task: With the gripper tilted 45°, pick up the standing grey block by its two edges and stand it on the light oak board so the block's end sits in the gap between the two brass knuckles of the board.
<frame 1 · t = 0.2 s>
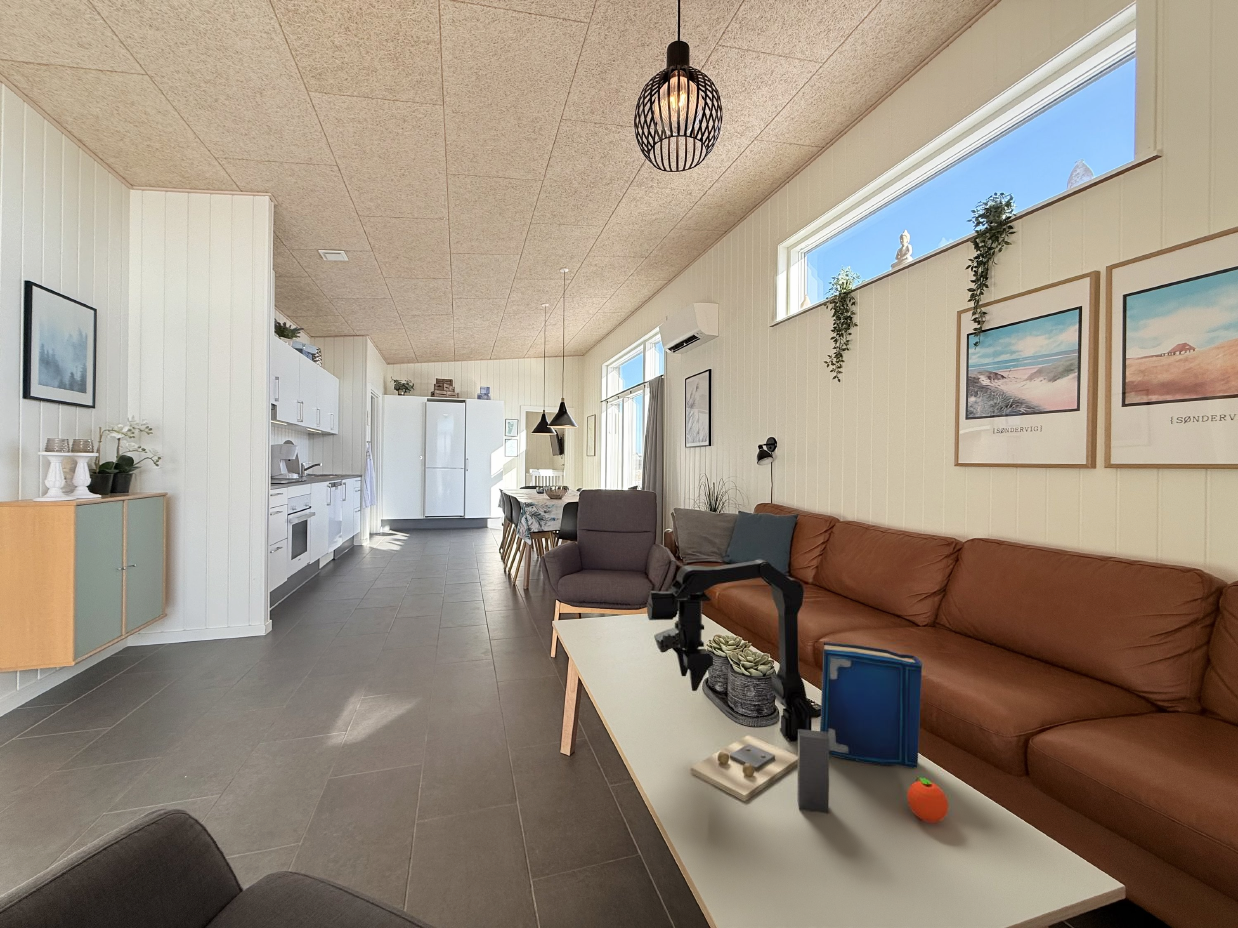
hand: (688, 683, 136), 15 cm above the table, tool pointing down, fingers open, 9 cm apart
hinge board: (746, 767, 125), on the table
grey block: (812, 806, 111), on the table
clementine: (925, 818, 108), on the table
book: (869, 758, 130), on the table
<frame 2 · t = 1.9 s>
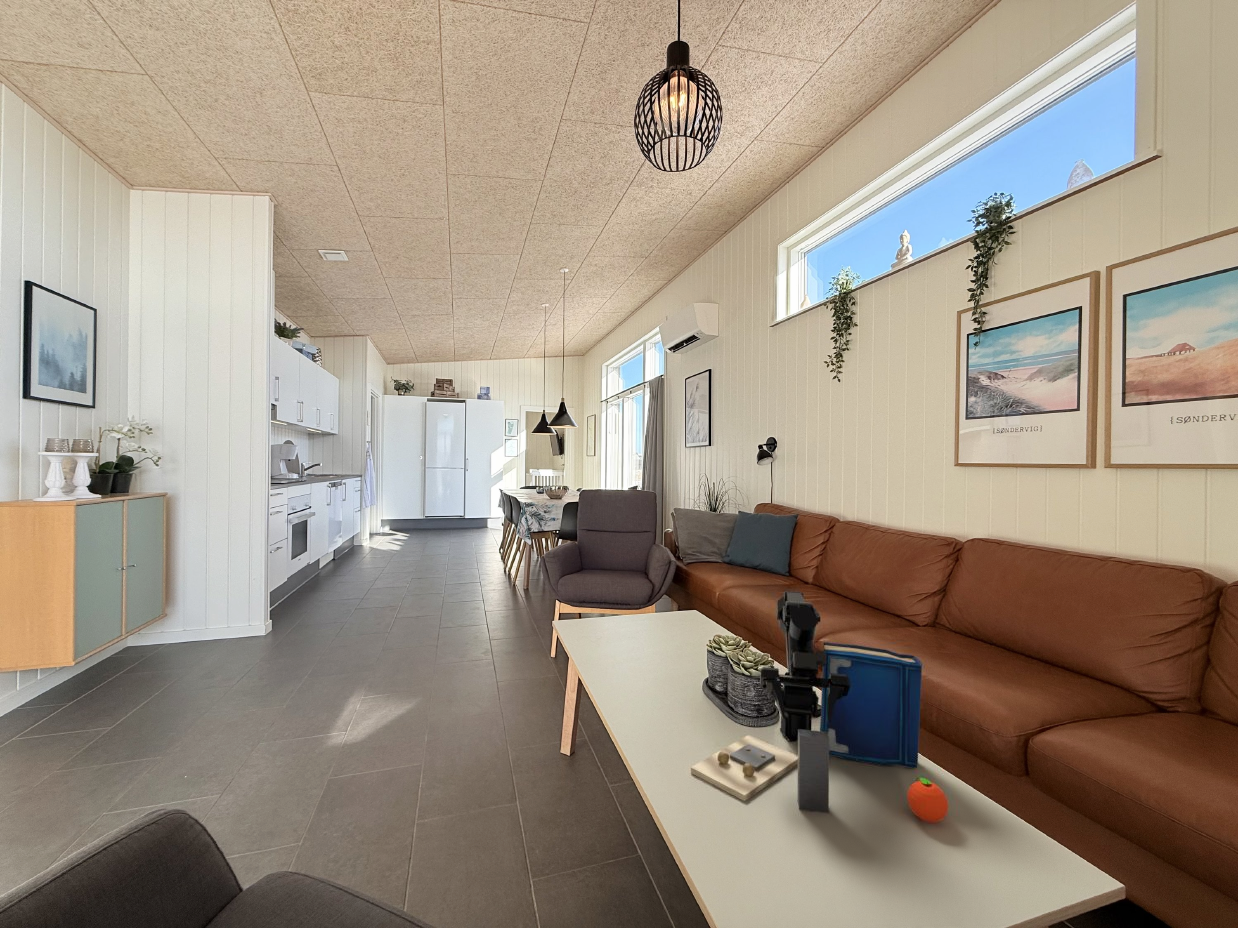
hand: (806, 720, 119), 13 cm above the table, tool tilted 45°, fingers open, 9 cm apart
nothing on the table moved.
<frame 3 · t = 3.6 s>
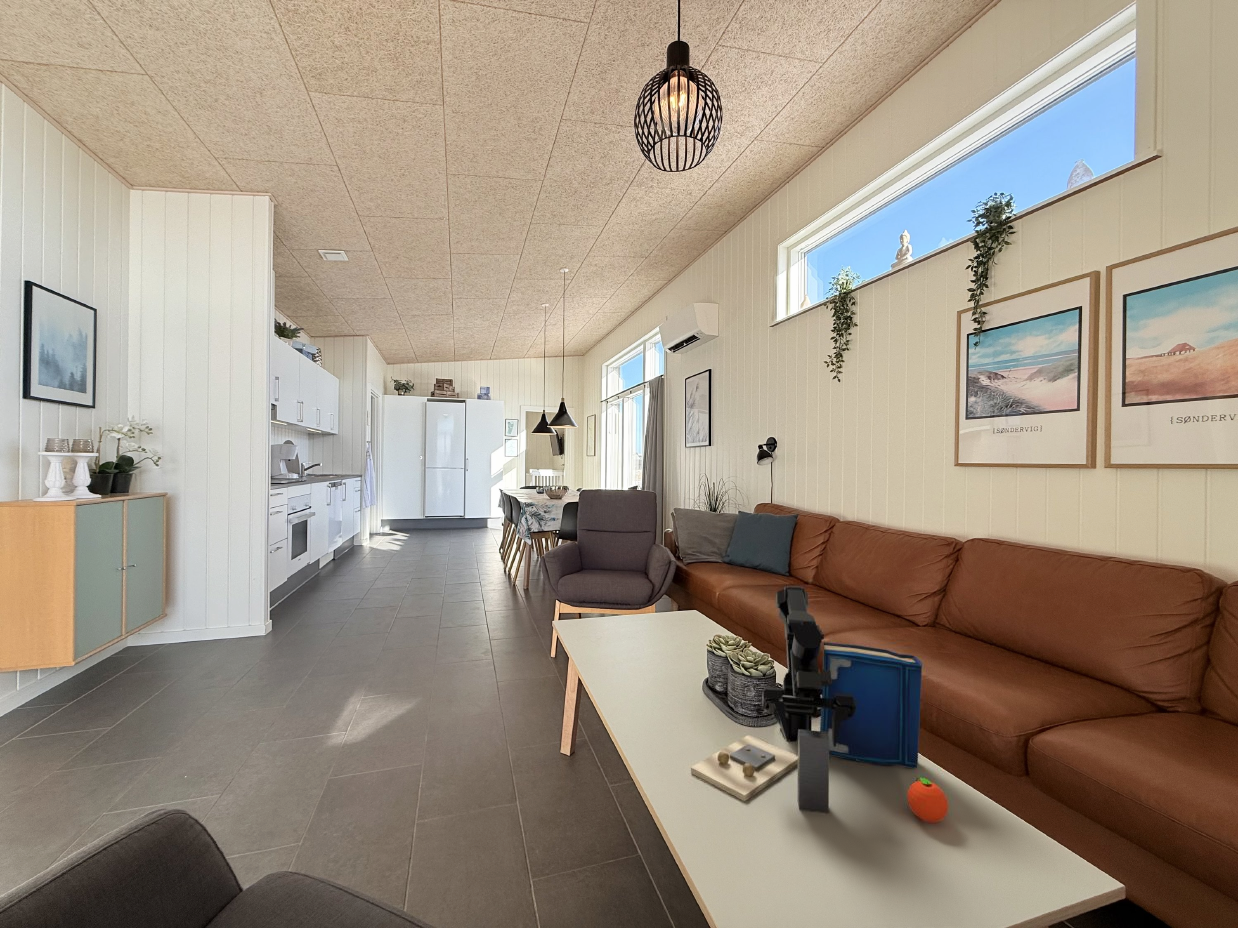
hand: (811, 743, 114), 11 cm above the table, tool tilted 45°, fingers open, 9 cm apart
nothing on the table moved.
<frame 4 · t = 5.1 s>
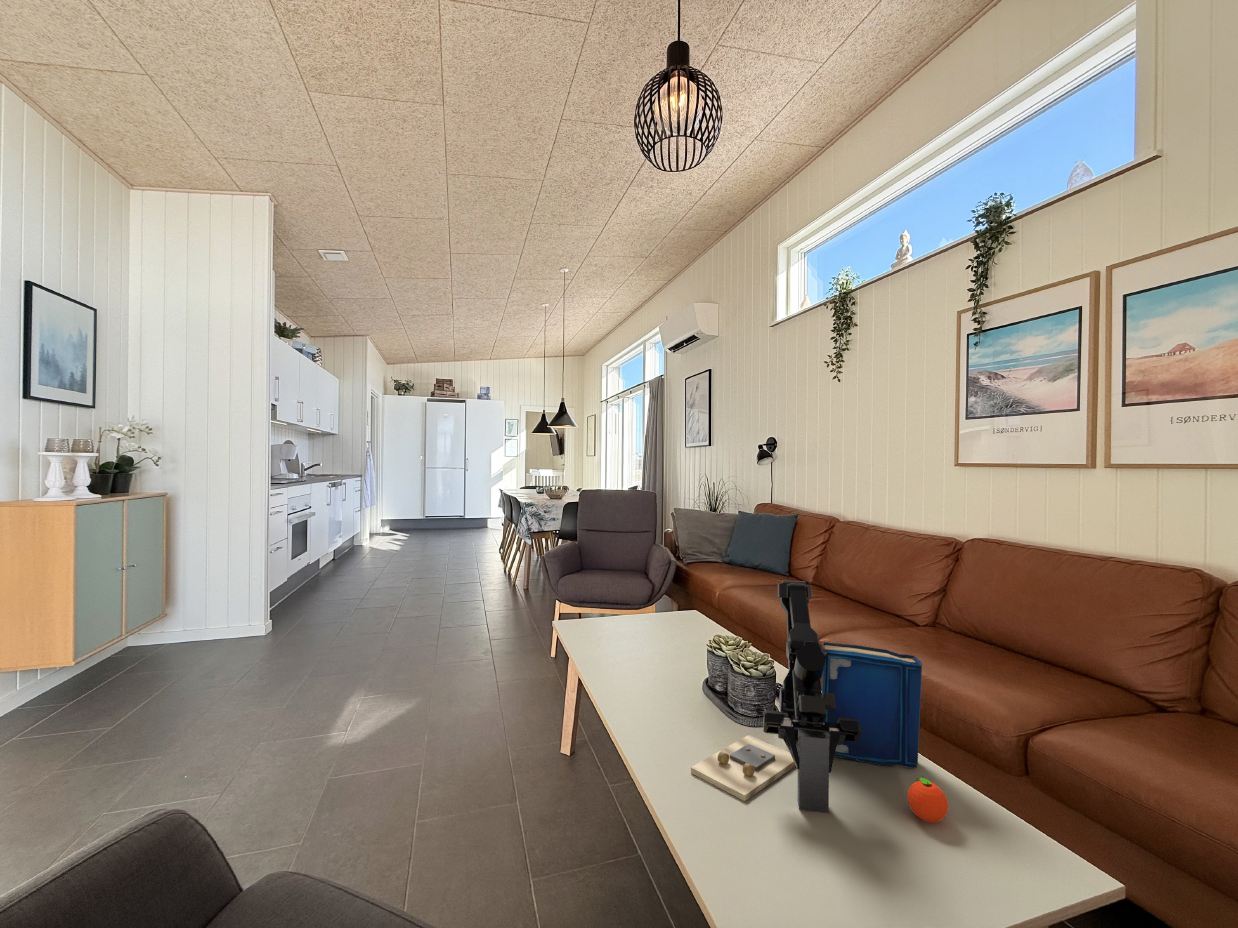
hand: (814, 770, 109), 8 cm above the table, tool tilted 45°, fingers closed on grey block, 5 cm apart
grey block: (812, 806, 111), on the table, touching gripper
everything else where it was.
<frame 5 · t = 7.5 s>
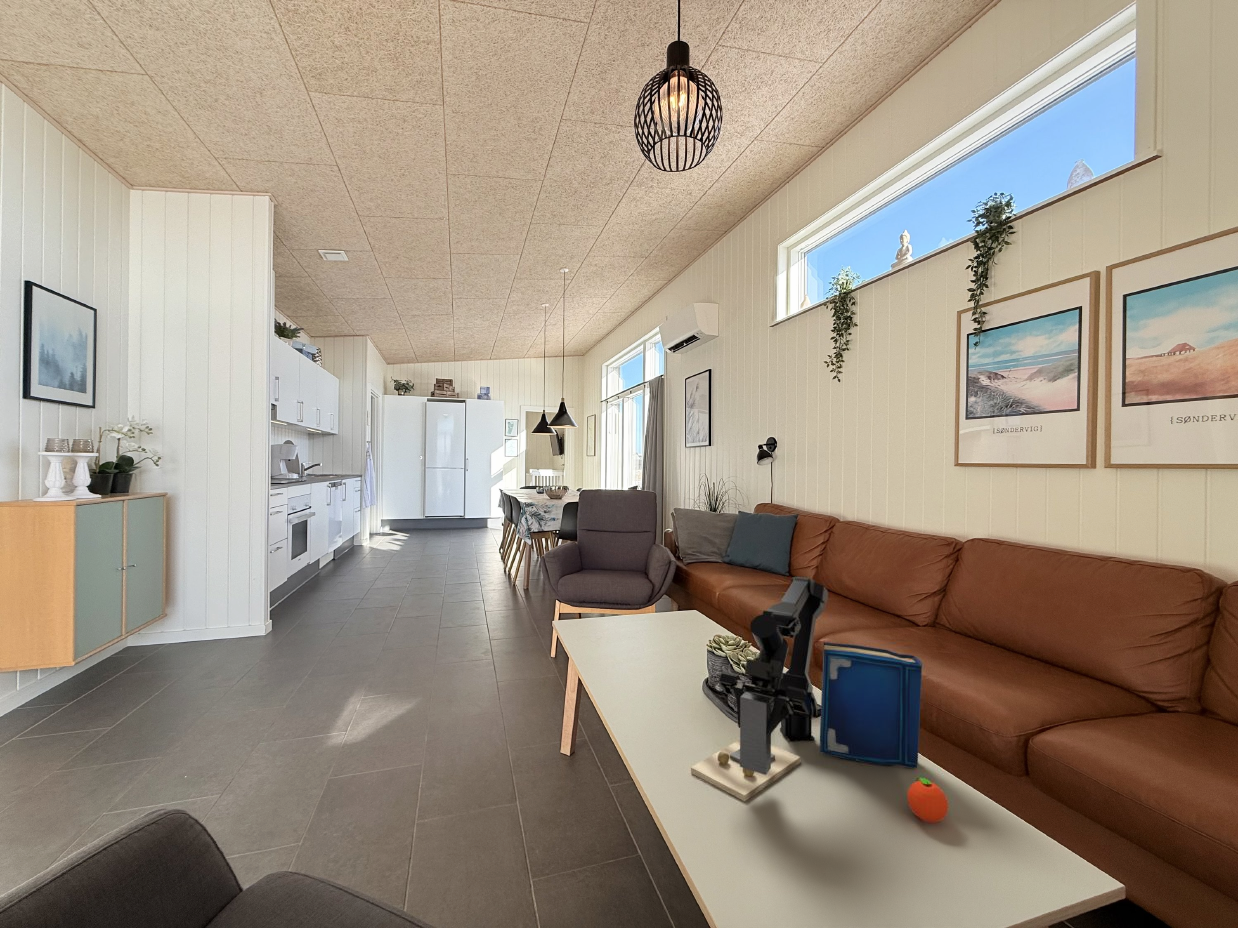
hand: (753, 731, 114), 13 cm above the table, tool tilted 45°, fingers closed on grey block, 5 cm apart
grey block: (755, 767, 115), point 5 cm above the table, touching gripper
everything else where it was.
when the fingers open (10 cm above the table, at t = 9.6 s): grey block drops 1 cm, resting on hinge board.
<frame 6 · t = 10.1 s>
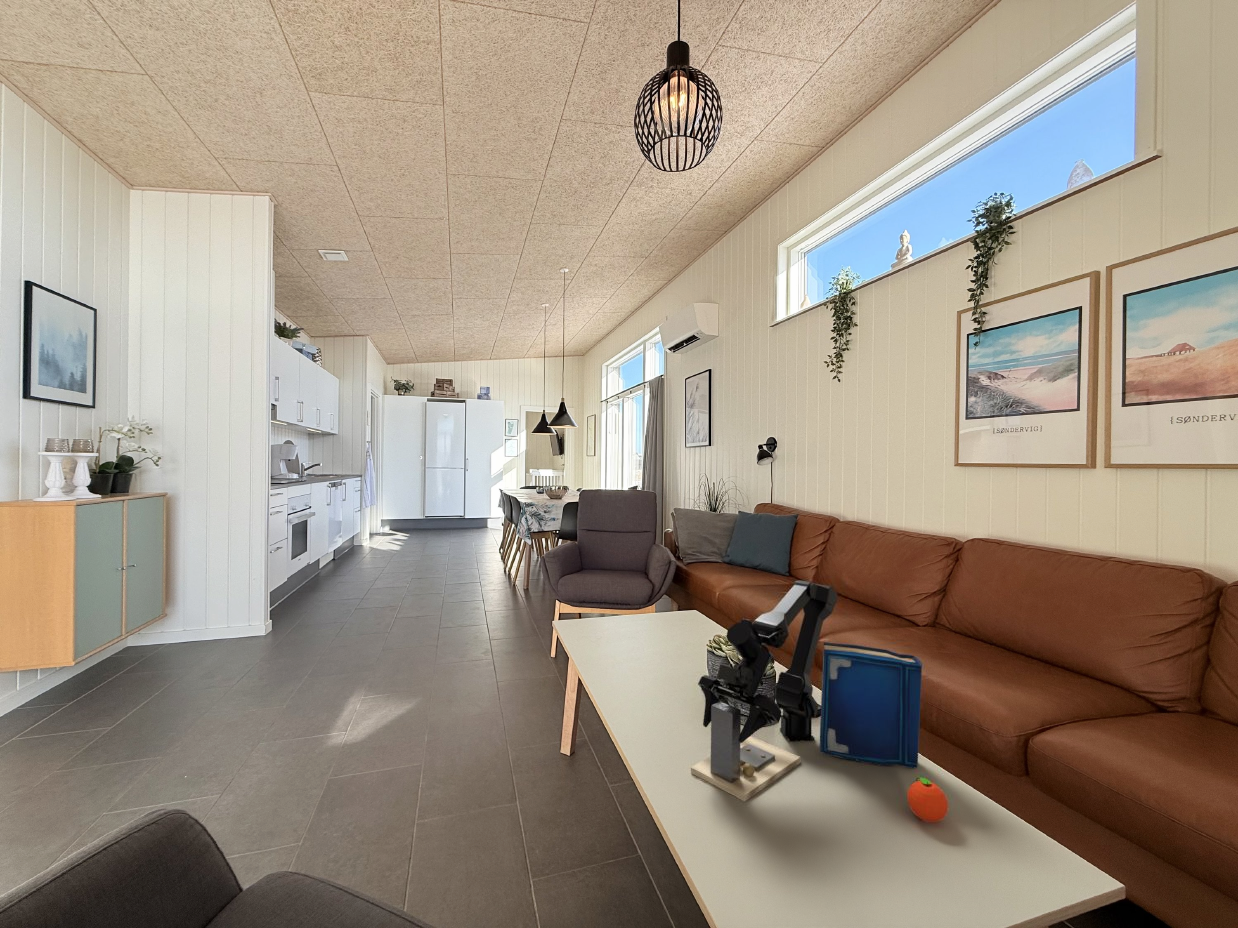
hand: (721, 733, 119), 11 cm above the table, tool tilted 45°, fingers open, 9 cm apart
grey block: (725, 775, 120), point 1 cm above the table, touching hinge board
everything else where it was.
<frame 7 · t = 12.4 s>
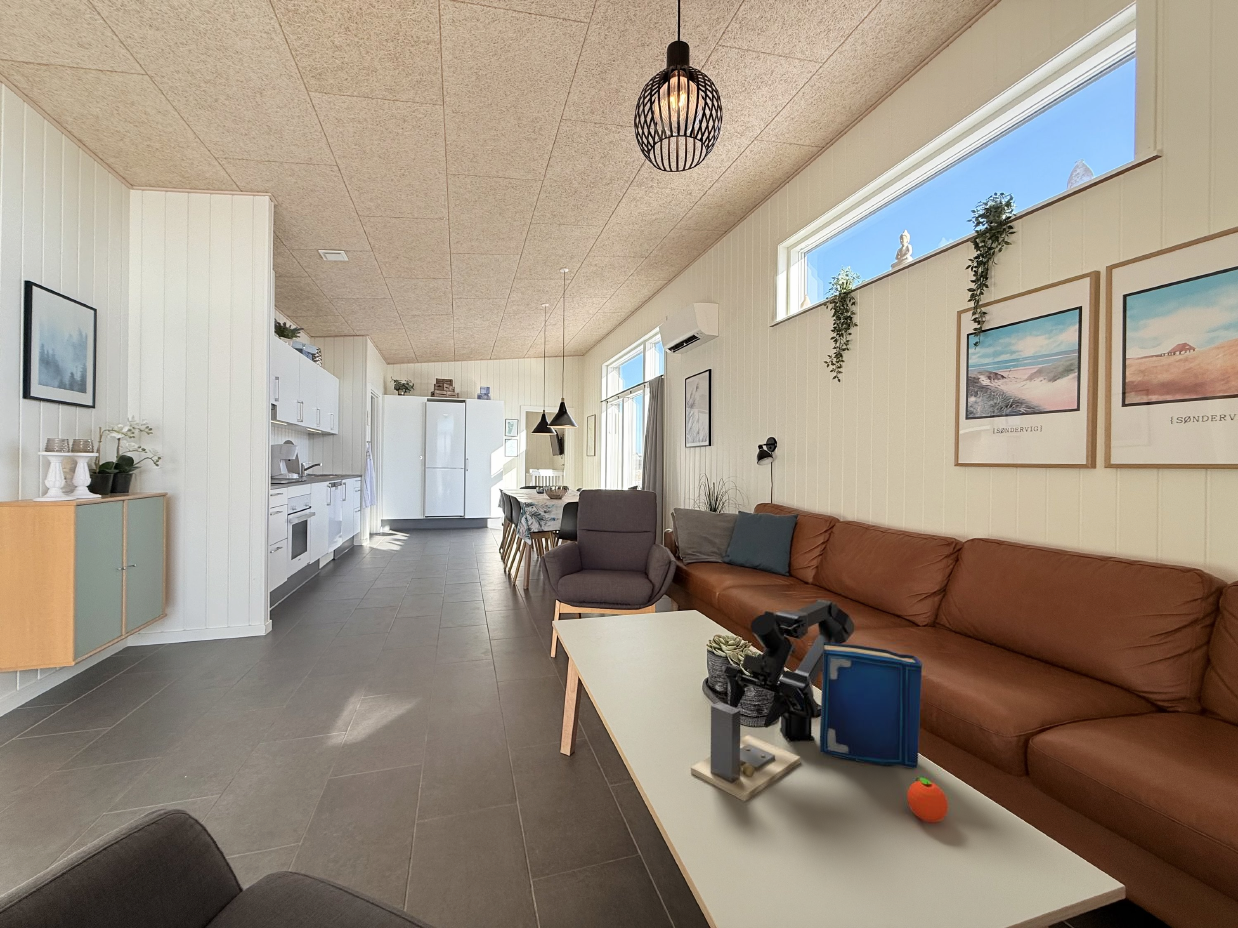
hand: (747, 719, 125), 11 cm above the table, tool tilted 45°, fingers open, 9 cm apart
nothing on the table moved.
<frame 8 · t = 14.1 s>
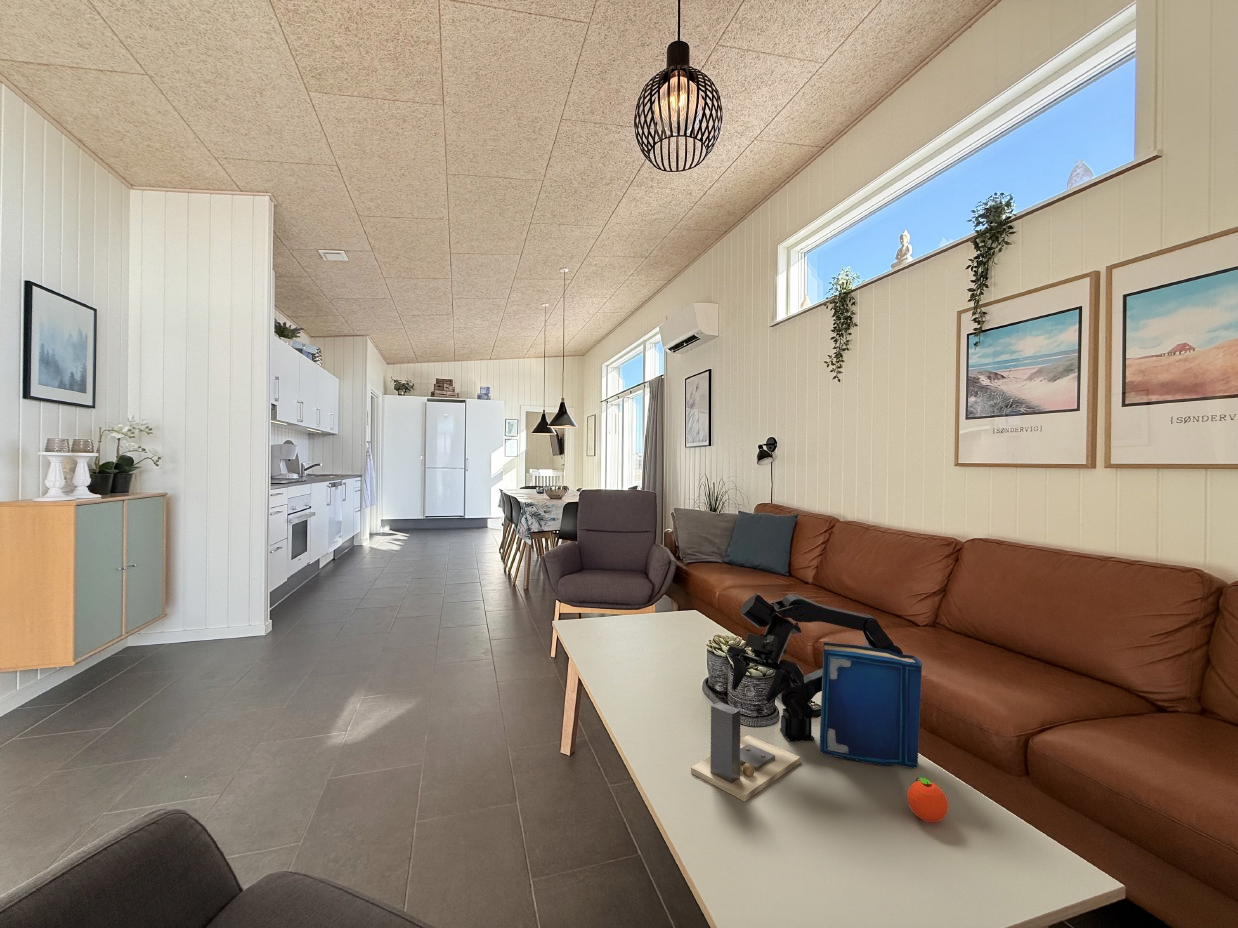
hand: (749, 695, 131), 14 cm above the table, tool tilted 45°, fingers open, 9 cm apart
nothing on the table moved.
at the end: grey block 0.0 cm from the target spot on the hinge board, point 1.2 cm above the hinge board's base; grey block tilted 0°; the gripper is holding nothing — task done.
